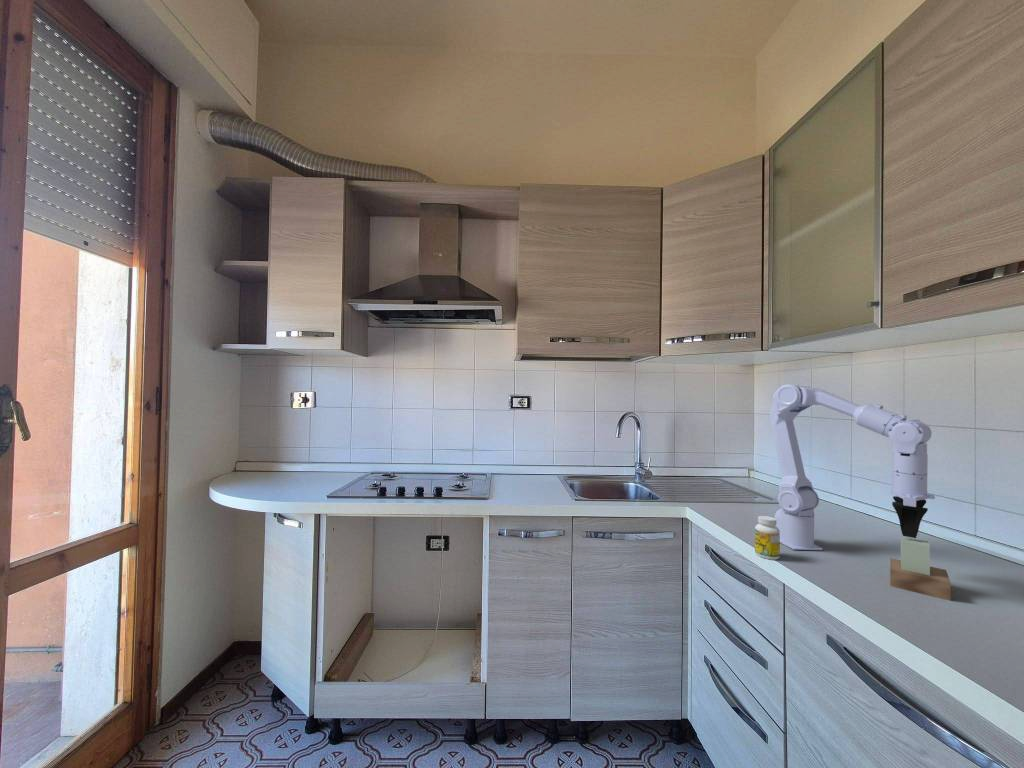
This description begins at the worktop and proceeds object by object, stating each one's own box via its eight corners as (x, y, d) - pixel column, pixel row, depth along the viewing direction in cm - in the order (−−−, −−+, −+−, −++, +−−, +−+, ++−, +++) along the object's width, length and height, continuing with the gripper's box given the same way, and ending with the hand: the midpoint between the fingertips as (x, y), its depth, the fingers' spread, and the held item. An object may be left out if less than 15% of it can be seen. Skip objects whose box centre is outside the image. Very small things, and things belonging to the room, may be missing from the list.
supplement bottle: (784, 559, 103) (785, 520, 103) (766, 560, 102) (766, 521, 102) (767, 551, 108) (767, 514, 109) (749, 552, 107) (750, 515, 108)
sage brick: (901, 569, 90) (901, 541, 90) (900, 563, 93) (900, 536, 94) (930, 575, 87) (929, 546, 87) (928, 569, 90) (928, 541, 91)
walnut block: (890, 588, 90) (890, 569, 90) (890, 575, 96) (890, 558, 97) (950, 602, 84) (950, 582, 84) (946, 588, 90) (946, 569, 91)
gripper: (936, 479, 86) (936, 545, 86) (933, 471, 97) (932, 530, 97) (890, 474, 91) (890, 536, 91) (892, 467, 102) (891, 522, 102)
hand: (909, 532), depth 94 cm, fingers open, 7 cm apart
